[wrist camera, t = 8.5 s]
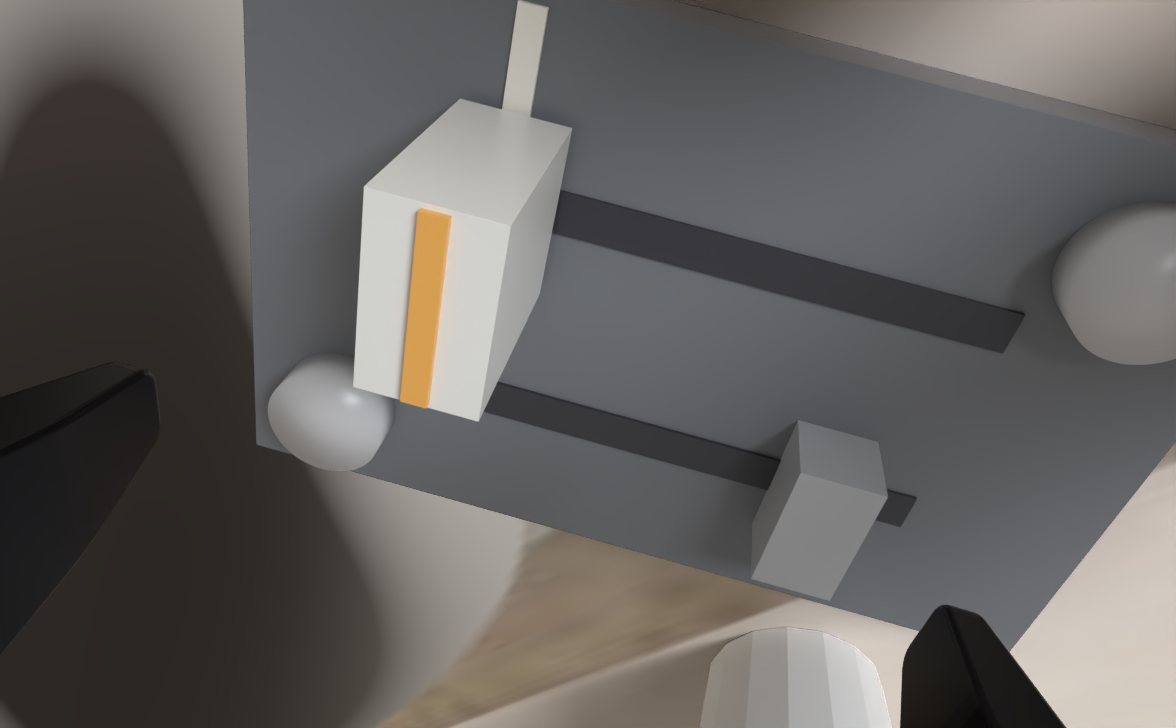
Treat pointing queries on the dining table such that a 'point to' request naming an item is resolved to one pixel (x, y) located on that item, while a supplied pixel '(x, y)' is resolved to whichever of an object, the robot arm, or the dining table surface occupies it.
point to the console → (741, 296)
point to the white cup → (793, 683)
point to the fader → (455, 256)
